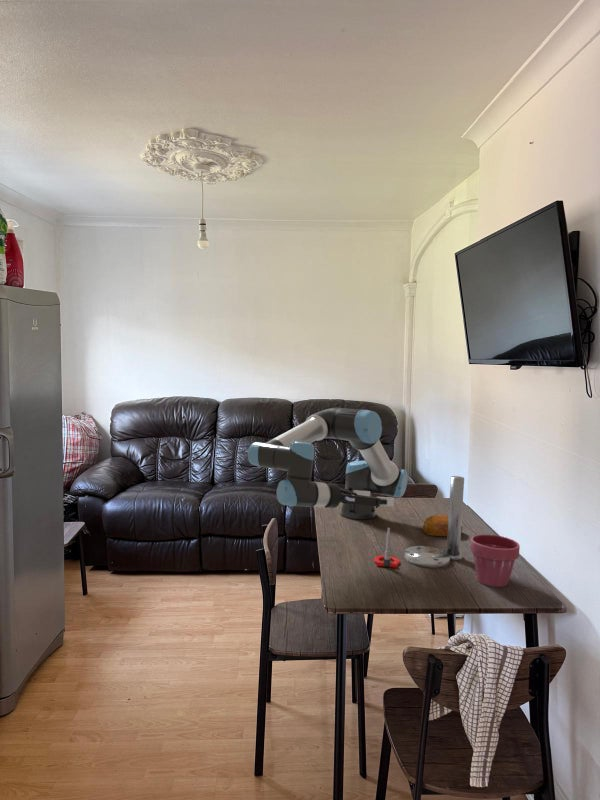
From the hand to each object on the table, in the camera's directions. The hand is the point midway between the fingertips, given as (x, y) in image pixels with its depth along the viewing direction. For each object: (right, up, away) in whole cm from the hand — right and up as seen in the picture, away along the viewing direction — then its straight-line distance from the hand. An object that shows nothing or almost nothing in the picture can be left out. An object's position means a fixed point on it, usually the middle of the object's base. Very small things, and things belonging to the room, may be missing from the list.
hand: (381, 498), depth 185 cm
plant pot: (+33, -24, -10) cm, 42 cm away
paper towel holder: (+19, -22, +8) cm, 30 cm away
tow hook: (+2, -22, +3) cm, 22 cm away
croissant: (+29, -20, +38) cm, 52 cm away
